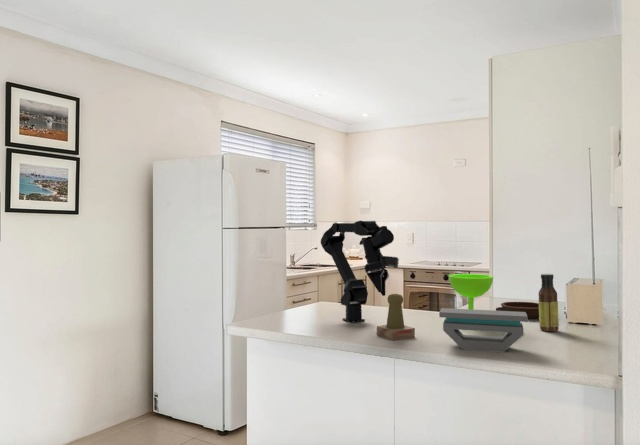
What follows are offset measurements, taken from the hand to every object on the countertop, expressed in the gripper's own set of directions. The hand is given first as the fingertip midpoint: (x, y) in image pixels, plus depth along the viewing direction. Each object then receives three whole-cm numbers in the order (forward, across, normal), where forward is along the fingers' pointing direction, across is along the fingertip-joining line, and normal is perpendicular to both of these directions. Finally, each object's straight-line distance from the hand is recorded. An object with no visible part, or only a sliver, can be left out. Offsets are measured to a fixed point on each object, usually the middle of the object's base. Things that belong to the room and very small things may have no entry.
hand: (382, 293), depth 187 cm
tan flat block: (+16, -7, -2) cm, 18 cm away
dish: (+16, +41, -50) cm, 66 cm away
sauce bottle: (+24, +14, -53) cm, 60 cm away
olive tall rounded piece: (+13, -8, -3) cm, 16 cm away
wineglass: (+16, +19, -28) cm, 37 cm away
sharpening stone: (+26, -16, -28) cm, 41 cm away
